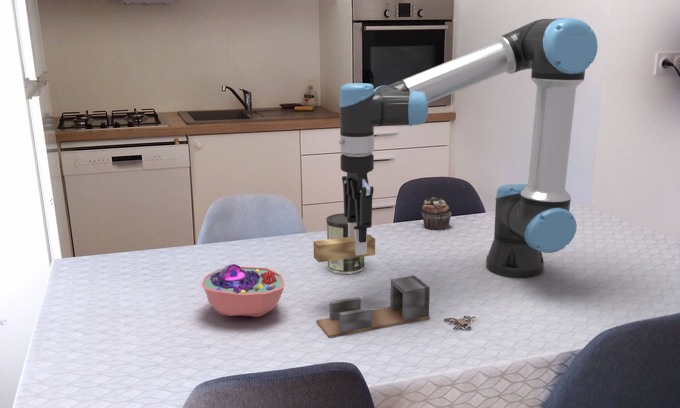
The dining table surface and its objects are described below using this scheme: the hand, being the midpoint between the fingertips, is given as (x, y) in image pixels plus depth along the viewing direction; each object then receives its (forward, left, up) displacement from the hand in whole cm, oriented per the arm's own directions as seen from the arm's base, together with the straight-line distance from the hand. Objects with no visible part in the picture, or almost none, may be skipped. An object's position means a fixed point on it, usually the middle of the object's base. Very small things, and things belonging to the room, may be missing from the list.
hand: (357, 251), depth 150 cm
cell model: (+27, -4, -13) cm, 30 cm away
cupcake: (-46, -45, -13) cm, 66 cm away
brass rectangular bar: (+3, 0, -1) cm, 3 cm away
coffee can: (-5, -22, -13) cm, 26 cm away
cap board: (+1, +11, -12) cm, 17 cm away
